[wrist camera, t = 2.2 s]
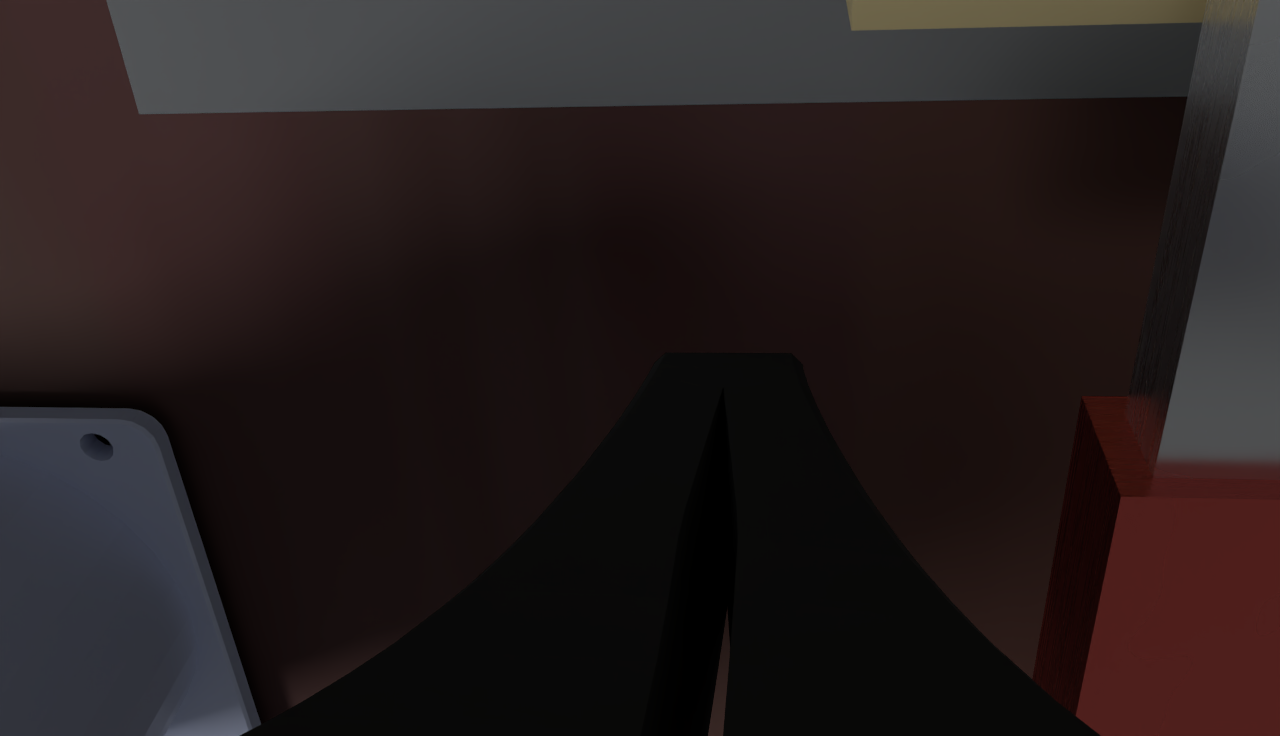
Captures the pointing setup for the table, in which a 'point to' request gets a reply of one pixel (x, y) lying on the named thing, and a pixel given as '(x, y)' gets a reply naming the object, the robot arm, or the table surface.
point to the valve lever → (1188, 439)
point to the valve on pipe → (644, 52)
